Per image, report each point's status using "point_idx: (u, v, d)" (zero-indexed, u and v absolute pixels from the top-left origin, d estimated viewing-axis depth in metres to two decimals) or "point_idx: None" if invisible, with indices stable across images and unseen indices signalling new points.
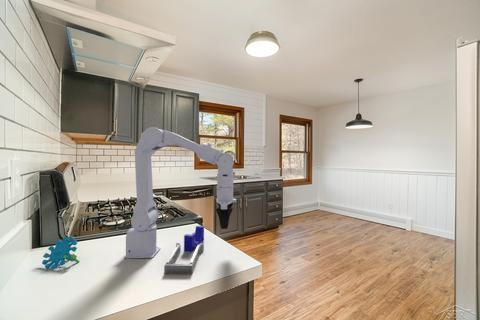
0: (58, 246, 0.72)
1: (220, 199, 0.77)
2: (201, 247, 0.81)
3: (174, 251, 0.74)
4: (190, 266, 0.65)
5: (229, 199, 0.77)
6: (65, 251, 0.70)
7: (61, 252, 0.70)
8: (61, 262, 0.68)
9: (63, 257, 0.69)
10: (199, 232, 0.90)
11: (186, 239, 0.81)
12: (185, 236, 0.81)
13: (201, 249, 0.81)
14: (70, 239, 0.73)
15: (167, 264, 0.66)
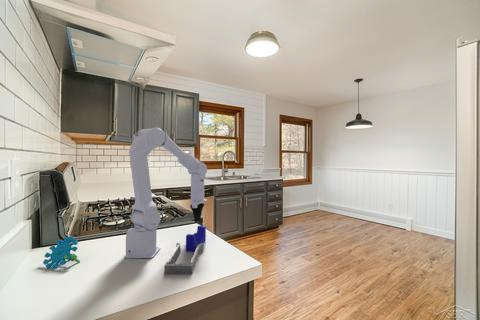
0: (59, 246, 0.72)
1: (193, 199, 0.95)
2: (201, 247, 0.81)
3: (174, 251, 0.74)
4: (190, 266, 0.65)
5: (200, 199, 0.95)
6: (66, 251, 0.70)
7: (62, 252, 0.70)
8: (61, 262, 0.68)
9: (63, 257, 0.69)
10: (201, 232, 0.90)
11: (188, 239, 0.81)
12: (187, 236, 0.81)
13: (201, 249, 0.81)
14: (71, 239, 0.73)
15: (167, 264, 0.66)
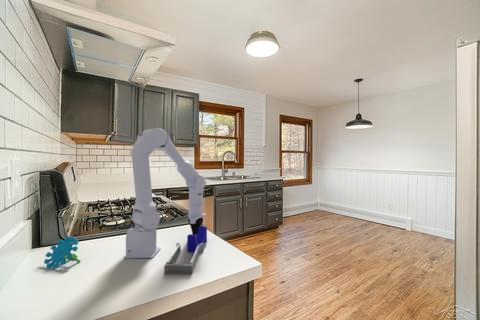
0: (60, 245, 0.72)
1: (191, 214, 0.91)
2: (201, 247, 0.81)
3: (174, 251, 0.74)
4: (190, 266, 0.65)
5: (198, 214, 0.91)
6: (66, 251, 0.70)
7: (62, 252, 0.70)
8: (62, 262, 0.68)
9: (64, 257, 0.69)
10: (202, 232, 0.90)
11: (189, 239, 0.80)
12: (188, 236, 0.80)
13: (201, 249, 0.81)
14: (72, 239, 0.73)
15: (167, 264, 0.66)
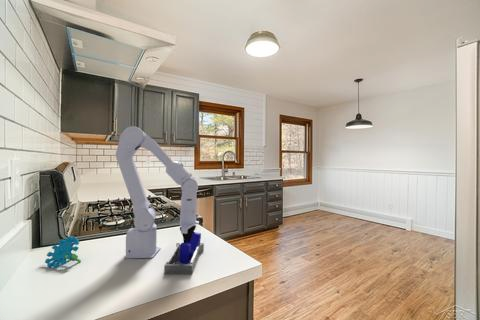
0: (61, 245, 0.72)
1: (182, 222, 0.81)
2: (201, 247, 0.81)
3: (174, 251, 0.74)
4: (190, 266, 0.65)
5: (191, 222, 0.81)
6: (67, 250, 0.70)
7: (63, 251, 0.70)
8: (62, 261, 0.68)
9: (64, 256, 0.69)
10: (195, 240, 0.81)
11: (182, 248, 0.72)
12: (181, 245, 0.72)
13: (201, 249, 0.81)
14: (73, 239, 0.73)
15: (167, 264, 0.66)
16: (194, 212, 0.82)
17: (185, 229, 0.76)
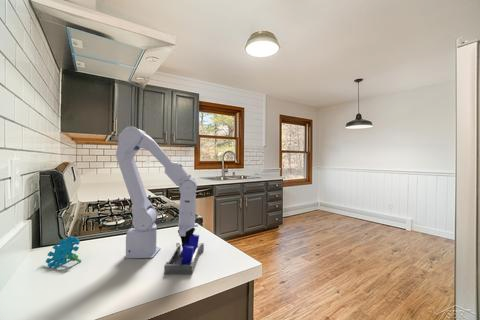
0: (62, 245, 0.72)
1: (181, 224, 0.79)
2: (201, 247, 0.81)
3: (174, 251, 0.74)
4: (190, 266, 0.65)
5: (190, 225, 0.79)
6: (67, 250, 0.70)
7: (64, 251, 0.70)
8: (62, 261, 0.68)
9: (65, 256, 0.69)
10: (194, 242, 0.79)
11: (185, 251, 0.69)
12: (184, 248, 0.69)
13: (201, 249, 0.81)
14: (73, 238, 0.73)
15: (167, 264, 0.66)
16: (193, 214, 0.80)
17: (183, 232, 0.74)
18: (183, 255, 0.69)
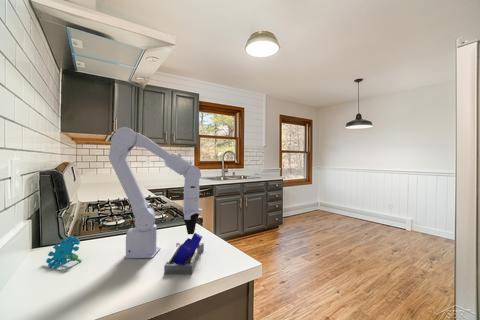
0: (62, 245, 0.73)
1: (185, 209, 0.81)
2: (201, 247, 0.81)
3: (174, 251, 0.74)
4: (190, 266, 0.65)
5: (194, 209, 0.82)
6: (67, 250, 0.71)
7: (64, 251, 0.70)
8: (63, 261, 0.68)
9: (65, 256, 0.69)
10: (195, 242, 0.79)
11: (181, 250, 0.70)
12: (181, 247, 0.70)
13: (201, 249, 0.81)
14: (73, 238, 0.73)
15: (167, 264, 0.66)
16: (197, 199, 0.83)
17: (188, 215, 0.77)
18: (178, 253, 0.70)
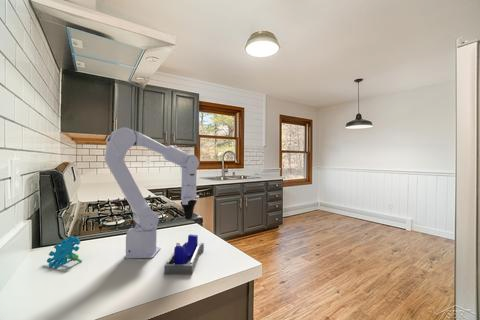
0: (63, 245, 0.73)
1: (183, 196, 0.86)
2: (201, 247, 0.81)
3: None
4: (190, 266, 0.65)
5: (191, 196, 0.87)
6: (68, 250, 0.71)
7: (64, 251, 0.71)
8: (63, 261, 0.68)
9: (65, 256, 0.69)
10: (192, 242, 0.80)
11: (177, 252, 0.70)
12: (176, 248, 0.70)
13: (201, 249, 0.81)
14: (74, 238, 0.73)
15: (167, 264, 0.66)
16: (194, 186, 0.87)
17: (186, 200, 0.82)
18: (175, 255, 0.70)
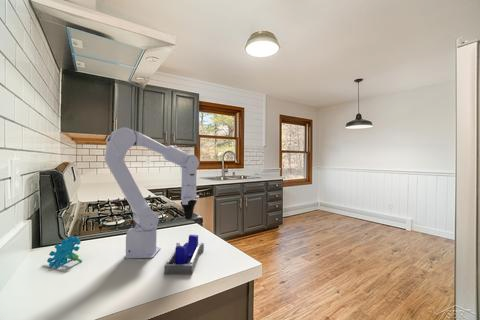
0: (63, 245, 0.73)
1: (183, 196, 0.86)
2: (201, 247, 0.81)
3: (174, 251, 0.74)
4: (190, 266, 0.65)
5: (191, 196, 0.87)
6: (68, 250, 0.71)
7: (65, 251, 0.71)
8: (63, 261, 0.68)
9: (65, 256, 0.69)
10: (193, 242, 0.80)
11: (178, 252, 0.70)
12: (177, 248, 0.70)
13: (201, 249, 0.81)
14: (74, 238, 0.74)
15: (167, 264, 0.66)
16: (194, 186, 0.87)
17: (186, 200, 0.82)
18: (176, 255, 0.70)
